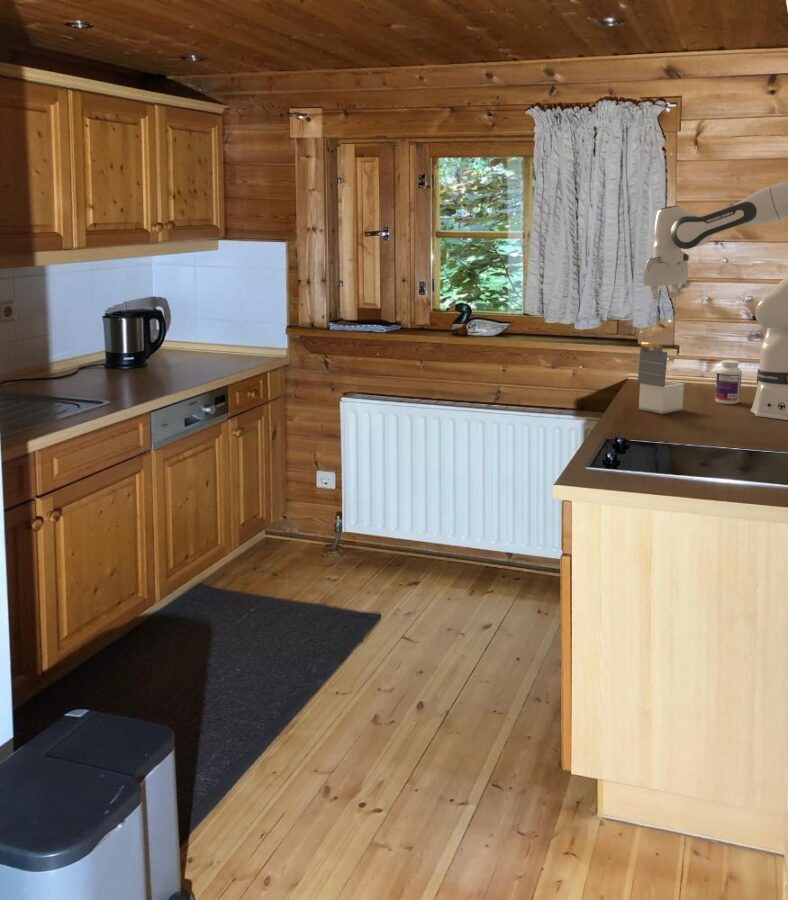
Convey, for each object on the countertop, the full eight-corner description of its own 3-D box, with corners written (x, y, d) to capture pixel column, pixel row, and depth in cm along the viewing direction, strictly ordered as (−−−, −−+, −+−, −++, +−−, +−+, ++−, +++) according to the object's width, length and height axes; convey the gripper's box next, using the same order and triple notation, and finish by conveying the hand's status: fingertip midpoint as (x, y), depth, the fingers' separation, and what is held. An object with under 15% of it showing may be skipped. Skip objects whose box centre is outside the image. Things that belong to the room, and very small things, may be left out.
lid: (664, 386, 342) (657, 387, 340) (639, 382, 350) (632, 383, 348) (668, 344, 340) (661, 344, 337) (642, 340, 347) (635, 341, 345)
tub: (682, 409, 352) (684, 383, 350) (662, 413, 345) (663, 387, 343) (658, 405, 359) (660, 379, 357) (638, 409, 352) (640, 383, 350)
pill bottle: (722, 399, 369) (725, 358, 366) (743, 402, 364) (746, 361, 361) (710, 402, 364) (713, 361, 361) (731, 405, 358) (735, 363, 355)
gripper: (656, 258, 338) (653, 301, 342) (692, 255, 351) (690, 297, 355) (639, 257, 343) (637, 300, 346) (676, 255, 356) (674, 296, 359)
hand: (664, 298), depth 350 cm, fingers open, 8 cm apart
